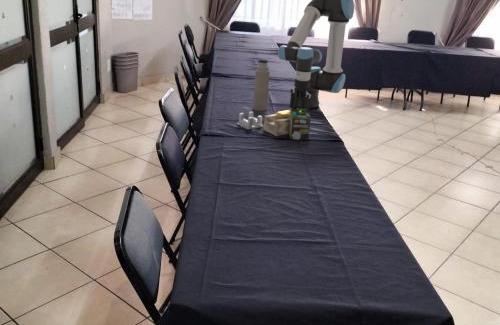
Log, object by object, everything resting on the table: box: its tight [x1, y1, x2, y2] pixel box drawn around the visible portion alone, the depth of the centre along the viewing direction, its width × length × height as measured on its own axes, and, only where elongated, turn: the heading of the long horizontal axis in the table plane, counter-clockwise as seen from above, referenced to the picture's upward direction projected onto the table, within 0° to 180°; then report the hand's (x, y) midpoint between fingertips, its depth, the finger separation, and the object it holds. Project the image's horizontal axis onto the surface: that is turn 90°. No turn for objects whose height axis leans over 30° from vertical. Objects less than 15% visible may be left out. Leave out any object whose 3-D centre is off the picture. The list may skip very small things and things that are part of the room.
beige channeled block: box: [263, 113, 290, 137], centre depth 227 cm, size 16×10×8 cm, turn 127°
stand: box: [236, 111, 264, 131], centre depth 230 cm, size 10×9×6 cm
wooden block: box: [276, 108, 301, 120], centre depth 228 cm, size 14×4×4 cm, turn 127°
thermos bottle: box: [252, 59, 271, 112], centre depth 257 cm, size 8×8×28 cm
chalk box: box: [288, 108, 312, 141], centre depth 218 cm, size 9×9×15 cm
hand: (297, 123), depth 233 cm, fingers closed on wooden block, 4 cm apart
